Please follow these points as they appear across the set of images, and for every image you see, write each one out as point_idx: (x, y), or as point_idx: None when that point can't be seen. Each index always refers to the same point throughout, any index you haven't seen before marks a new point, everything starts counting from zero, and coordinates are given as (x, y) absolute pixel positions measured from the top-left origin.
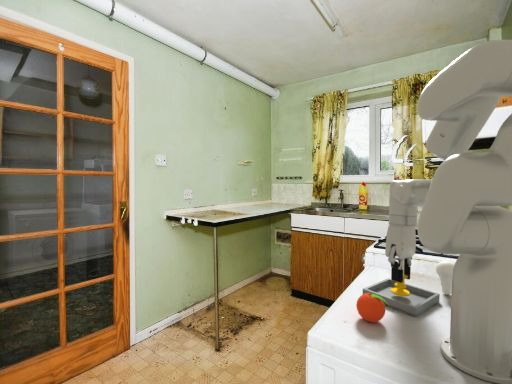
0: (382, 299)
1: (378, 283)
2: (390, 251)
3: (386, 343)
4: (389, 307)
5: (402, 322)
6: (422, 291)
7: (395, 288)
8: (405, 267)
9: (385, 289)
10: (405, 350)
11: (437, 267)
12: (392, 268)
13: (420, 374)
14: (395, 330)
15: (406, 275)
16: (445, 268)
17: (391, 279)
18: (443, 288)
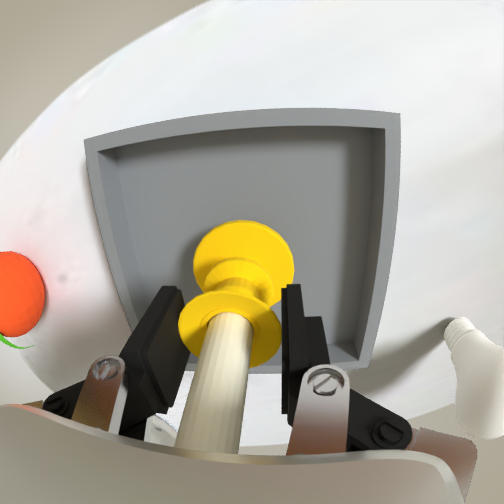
0: (7, 343)
1: (239, 123)
2: (38, 478)
3: (27, 333)
4: (30, 346)
5: (98, 330)
6: (365, 313)
7: (252, 239)
8: (283, 392)
9: (278, 151)
10: (45, 358)
11: (493, 390)
12: (129, 350)
13: (39, 378)
14: (61, 330)
15: (272, 354)
16: (469, 423)
17: (162, 286)
18: (453, 337)
